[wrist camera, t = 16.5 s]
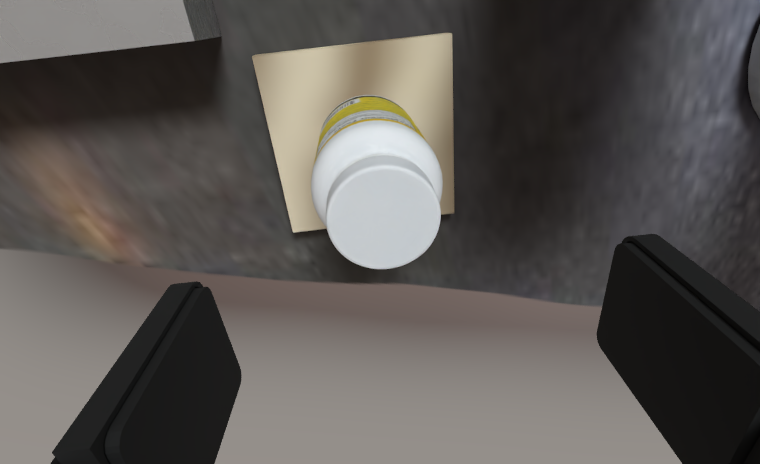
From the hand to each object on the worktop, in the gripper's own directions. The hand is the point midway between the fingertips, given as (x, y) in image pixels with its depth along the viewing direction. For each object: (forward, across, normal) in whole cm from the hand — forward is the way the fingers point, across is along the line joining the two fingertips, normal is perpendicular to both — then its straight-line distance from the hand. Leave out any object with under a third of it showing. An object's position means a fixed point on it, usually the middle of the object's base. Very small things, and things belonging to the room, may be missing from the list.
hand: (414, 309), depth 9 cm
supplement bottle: (+15, +1, 0) cm, 15 cm away
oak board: (+16, +1, 0) cm, 16 cm away
